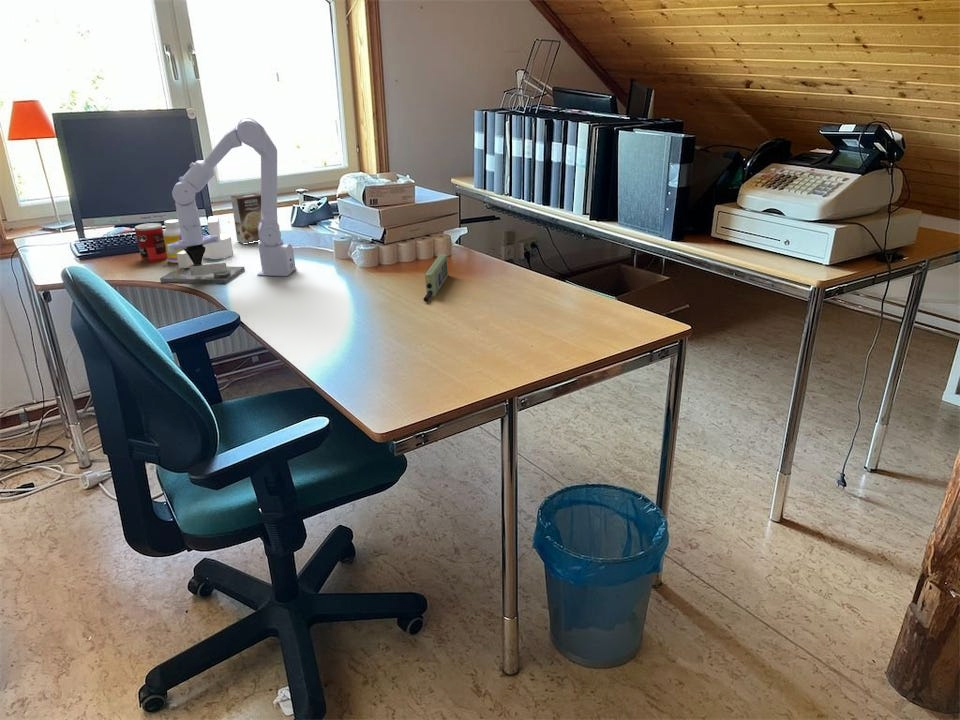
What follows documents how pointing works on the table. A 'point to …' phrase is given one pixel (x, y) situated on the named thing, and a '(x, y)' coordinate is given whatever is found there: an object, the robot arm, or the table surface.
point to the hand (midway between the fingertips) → (198, 270)
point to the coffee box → (247, 216)
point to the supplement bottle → (172, 238)
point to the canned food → (151, 242)
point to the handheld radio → (436, 276)
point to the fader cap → (183, 260)
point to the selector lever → (210, 269)
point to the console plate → (200, 276)
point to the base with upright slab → (219, 248)
